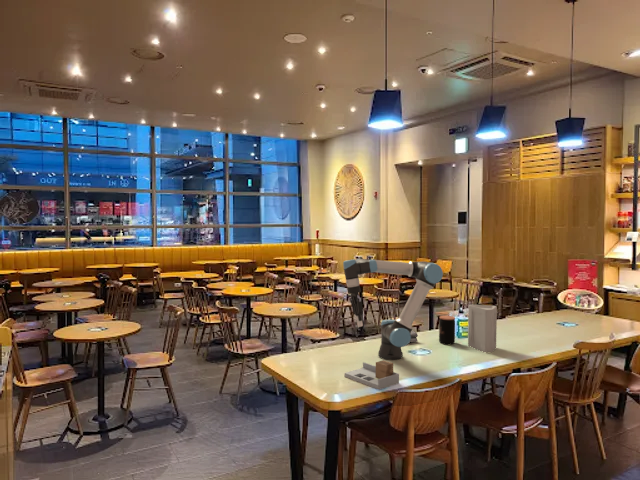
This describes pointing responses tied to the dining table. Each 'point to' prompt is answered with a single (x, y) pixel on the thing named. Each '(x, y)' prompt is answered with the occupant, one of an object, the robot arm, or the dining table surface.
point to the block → (384, 369)
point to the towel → (413, 336)
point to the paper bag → (482, 327)
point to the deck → (372, 377)
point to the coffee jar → (447, 329)
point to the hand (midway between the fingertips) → (360, 326)
